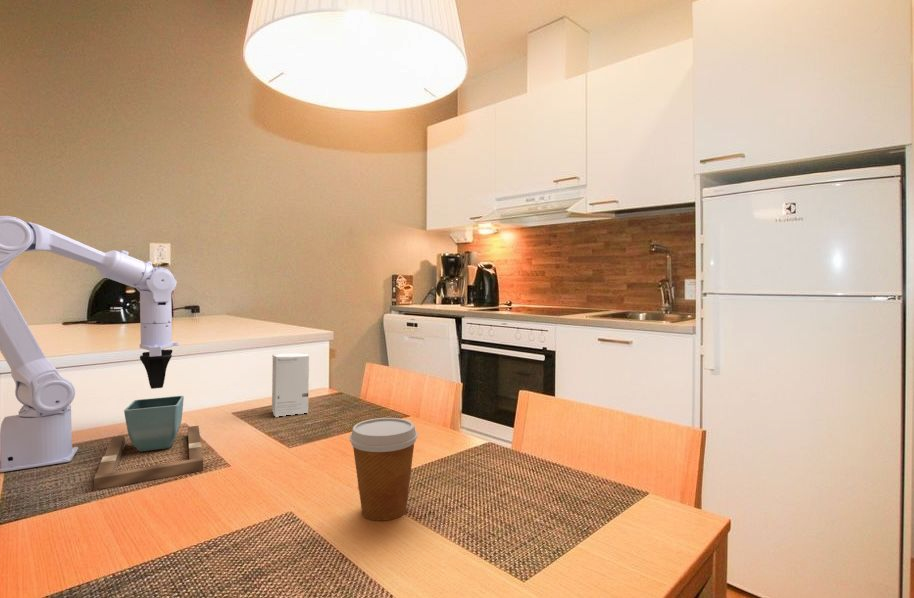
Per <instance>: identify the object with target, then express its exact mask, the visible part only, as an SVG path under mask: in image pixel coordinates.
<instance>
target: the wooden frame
mask: <svg viewBox="0 0 914 598" xmlns="http://www.w3.org/2000/svg"><path fill="white" fill-rule="evenodd" d="M200 433H201V432H200V427H199V425H192V426H187V442H188V459H186V460H185V459H184V460H180V461H174V462H168V463H167V462H166V463H162V464H161V463H160V464H157V465H156V464H155V465H149V466H145V467H138V468H132V469H125V470H120V471H117V468H118V465H119V462H120V460H121V458H122V455H121V454H123V452H124V449H125V446H126V436H125V435H118V436H112V438H111V440H110V442H109V444H108V446H107V448H106V451H105V453H104V456H102V458H101V460H100V463H99V465H98V466H99V467H98V469H97V470H96V473H95V475H94V477H93V491H98V490H102V489H109V488H114V487H119V486H124V485H130V484H135V483H143V482H147V481H151V480H153V481H154V480H159V479H163V478H168V477H175V476H181V475H185V474H192V473H196V472H202V471H204V457H203V449H202V442H201V441H202V440H201V435H200ZM124 445H125V446H124ZM123 448H124V449H123ZM122 451H123V452H122Z"/></svg>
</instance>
